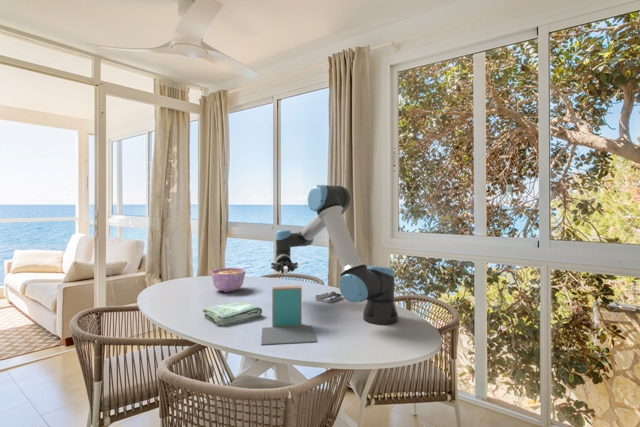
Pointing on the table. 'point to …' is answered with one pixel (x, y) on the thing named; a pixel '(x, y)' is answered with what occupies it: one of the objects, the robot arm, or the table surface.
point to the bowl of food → (228, 278)
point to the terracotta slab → (286, 306)
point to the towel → (232, 313)
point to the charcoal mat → (287, 335)
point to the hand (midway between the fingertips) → (285, 271)
